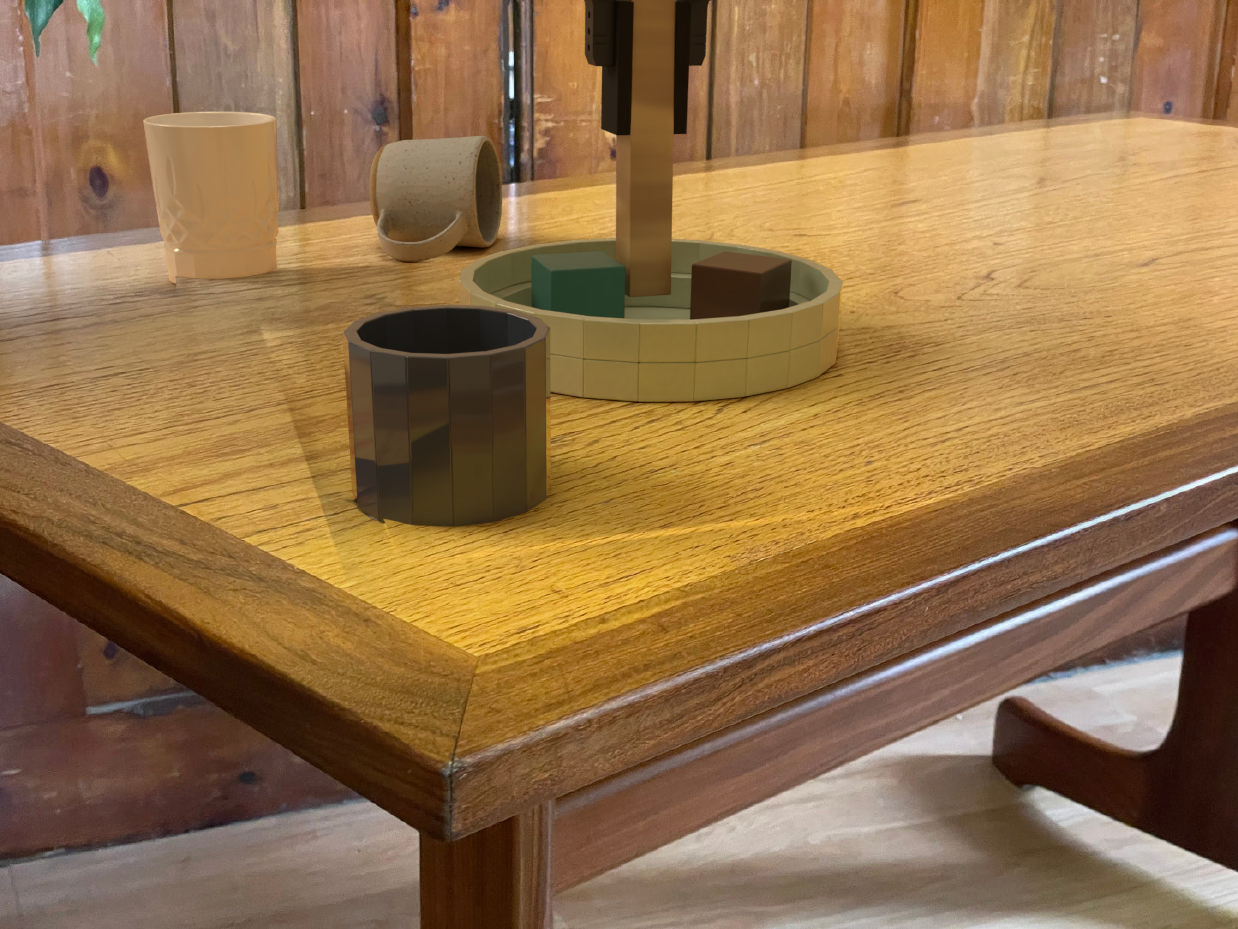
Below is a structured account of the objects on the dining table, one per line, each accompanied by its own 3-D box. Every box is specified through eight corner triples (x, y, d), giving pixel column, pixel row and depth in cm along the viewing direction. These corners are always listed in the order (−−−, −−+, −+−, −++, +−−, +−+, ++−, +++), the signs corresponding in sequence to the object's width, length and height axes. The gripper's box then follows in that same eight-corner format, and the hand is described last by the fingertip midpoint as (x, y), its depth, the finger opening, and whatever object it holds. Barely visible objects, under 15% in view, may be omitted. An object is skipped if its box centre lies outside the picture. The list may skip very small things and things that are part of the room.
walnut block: (721, 322, 76) (724, 250, 75) (788, 332, 74) (792, 259, 73) (688, 338, 73) (691, 263, 72) (757, 349, 71) (761, 273, 70)
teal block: (531, 327, 75) (530, 254, 73) (601, 322, 76) (602, 250, 74) (551, 346, 71) (551, 270, 70) (624, 341, 72) (625, 266, 71)
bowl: (429, 326, 78) (426, 247, 76) (745, 304, 84) (749, 230, 82) (514, 435, 60) (513, 336, 59) (905, 398, 66) (913, 307, 65)
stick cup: (342, 482, 55) (331, 311, 52) (522, 464, 57) (520, 299, 55) (371, 556, 48) (360, 364, 46) (573, 532, 51) (573, 348, 48)
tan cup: (132, 283, 86) (114, 120, 83) (218, 260, 93) (204, 108, 90) (230, 298, 83) (216, 129, 80) (312, 273, 90) (302, 116, 86)
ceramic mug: (398, 230, 103) (393, 126, 101) (505, 235, 102) (503, 129, 99) (351, 262, 94) (344, 148, 91) (469, 268, 92) (465, 152, 90)
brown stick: (615, 289, 75) (616, -104, 69) (656, 287, 76) (661, -102, 70) (629, 297, 73) (632, -108, 67) (671, 295, 74) (678, -106, 68)
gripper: (516, -420, 58) (518, 144, 67) (843, -386, 63) (807, 137, 71) (476, -384, 65) (483, 125, 73) (775, -355, 70) (749, 120, 78)
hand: (643, 130), depth 72 cm, fingers closed on brown stick, 2 cm apart
